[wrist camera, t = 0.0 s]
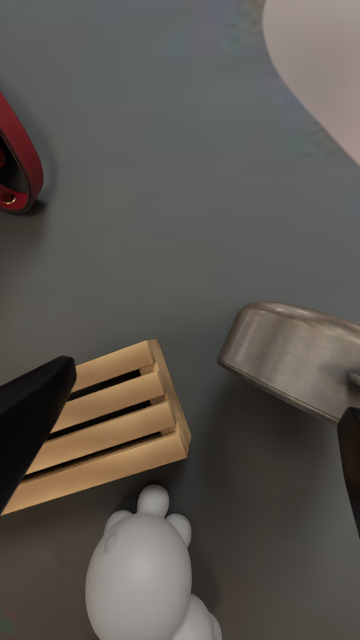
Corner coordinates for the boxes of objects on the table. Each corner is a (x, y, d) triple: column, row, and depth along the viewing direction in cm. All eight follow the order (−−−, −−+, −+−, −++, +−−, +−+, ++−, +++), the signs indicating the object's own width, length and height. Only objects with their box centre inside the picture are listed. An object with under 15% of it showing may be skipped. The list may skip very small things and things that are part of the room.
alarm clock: (214, 355, 24) (212, 414, 8) (240, 298, 24) (293, 237, 8) (337, 413, 22) (646, 630, 6) (366, 353, 22) (756, 419, 6)
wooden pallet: (191, 436, 24) (187, 458, 20) (11, 493, 26) (-26, 524, 22) (156, 338, 25) (145, 340, 21) (-17, 401, 26) (-58, 414, 23)
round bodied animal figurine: (179, 632, 24) (159, 802, 15) (99, 511, 25) (39, 607, 16) (247, 588, 23) (267, 740, 15) (162, 466, 24) (134, 542, 16)
